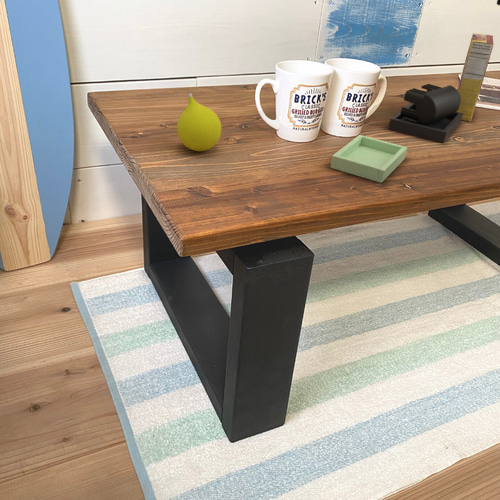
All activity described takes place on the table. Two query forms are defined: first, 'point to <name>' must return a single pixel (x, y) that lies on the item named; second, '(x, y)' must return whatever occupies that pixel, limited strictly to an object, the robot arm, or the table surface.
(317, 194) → the table surface
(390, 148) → the sage tray
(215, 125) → the ornament
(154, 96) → the table surface
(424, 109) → the end cap
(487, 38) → the candy box
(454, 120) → the charcoal tray
